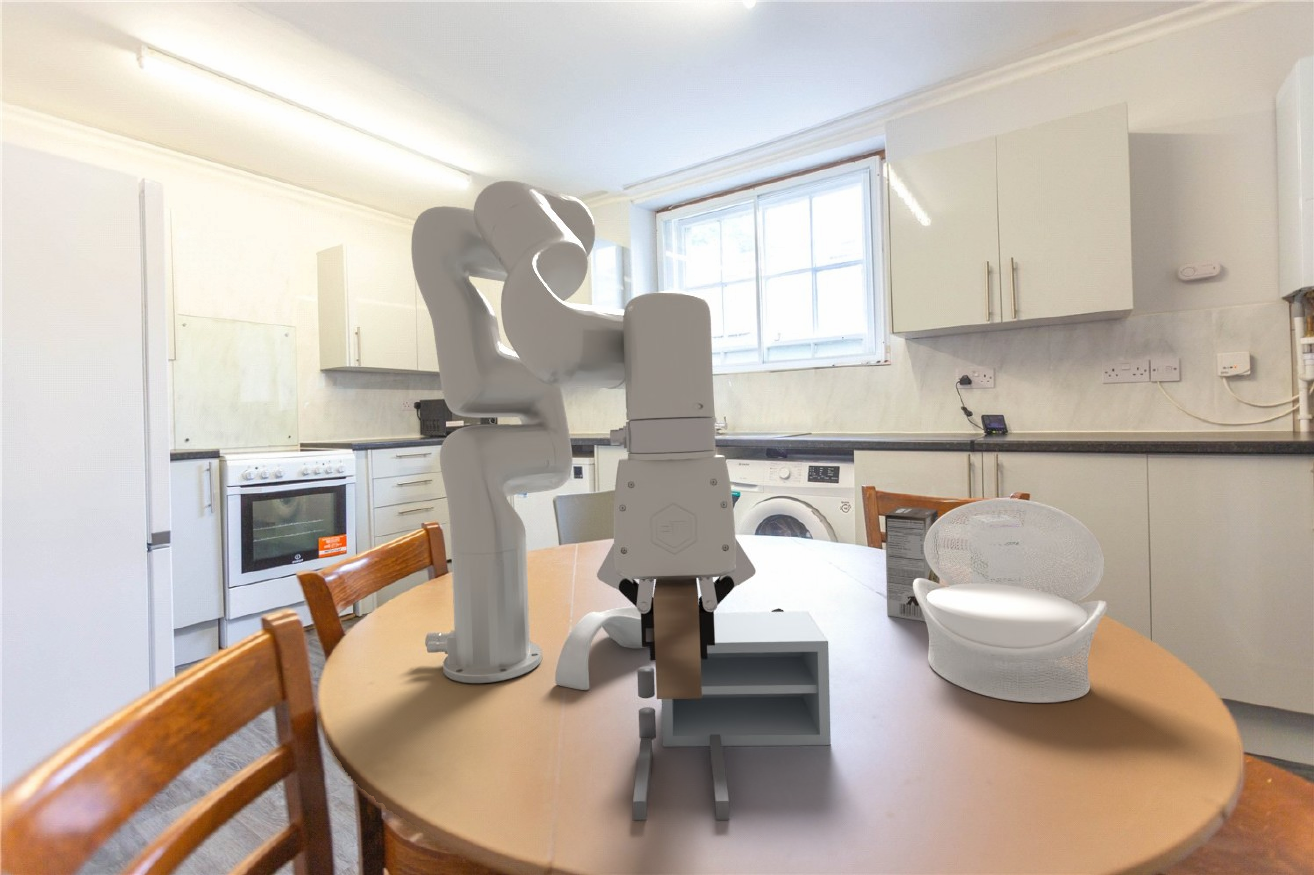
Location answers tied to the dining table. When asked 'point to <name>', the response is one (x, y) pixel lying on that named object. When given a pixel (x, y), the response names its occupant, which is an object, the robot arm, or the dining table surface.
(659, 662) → the door
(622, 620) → the spoon rest
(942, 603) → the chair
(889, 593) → the coffee box
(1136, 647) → the dining table surface
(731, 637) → the cabinet
